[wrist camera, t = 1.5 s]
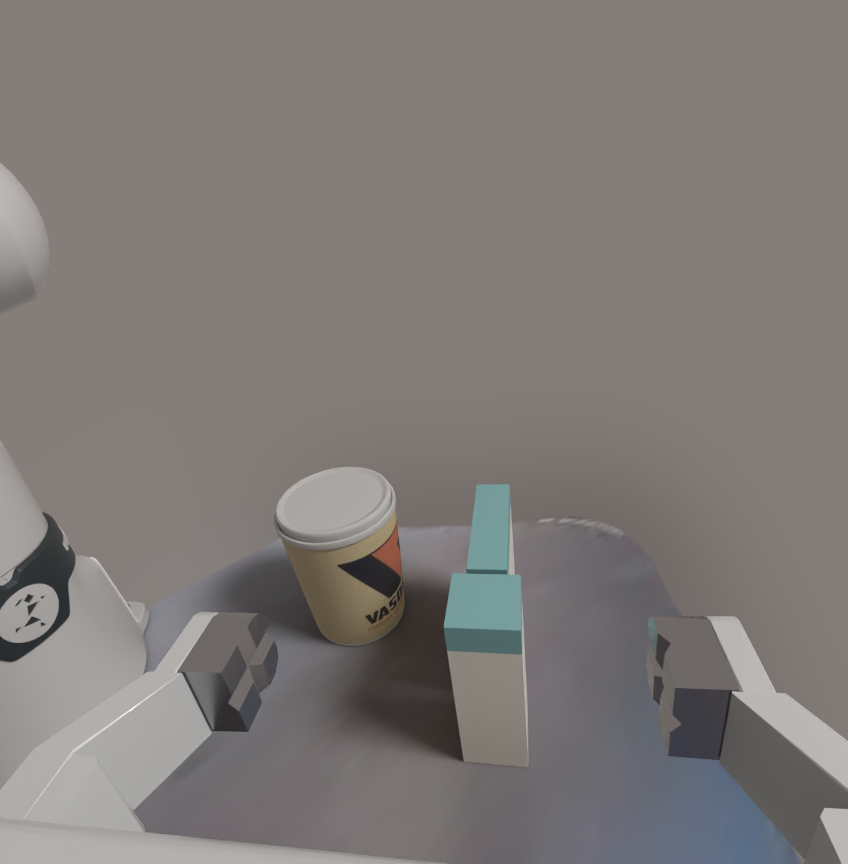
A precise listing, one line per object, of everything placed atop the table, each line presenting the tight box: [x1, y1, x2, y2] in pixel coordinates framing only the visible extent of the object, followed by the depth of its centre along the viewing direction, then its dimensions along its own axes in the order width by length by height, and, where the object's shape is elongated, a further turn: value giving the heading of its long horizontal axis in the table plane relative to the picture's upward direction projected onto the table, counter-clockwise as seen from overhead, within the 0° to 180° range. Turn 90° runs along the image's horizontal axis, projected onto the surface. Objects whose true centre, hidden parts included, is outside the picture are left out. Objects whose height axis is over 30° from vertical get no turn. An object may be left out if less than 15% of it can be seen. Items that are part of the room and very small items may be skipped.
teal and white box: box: [466, 484, 515, 575], centre depth 38 cm, size 3×9×12 cm, turn 171°
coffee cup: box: [274, 467, 405, 646], centre depth 42 cm, size 9×9×12 cm
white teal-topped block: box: [444, 573, 528, 768], centre depth 31 cm, size 4×4×12 cm
